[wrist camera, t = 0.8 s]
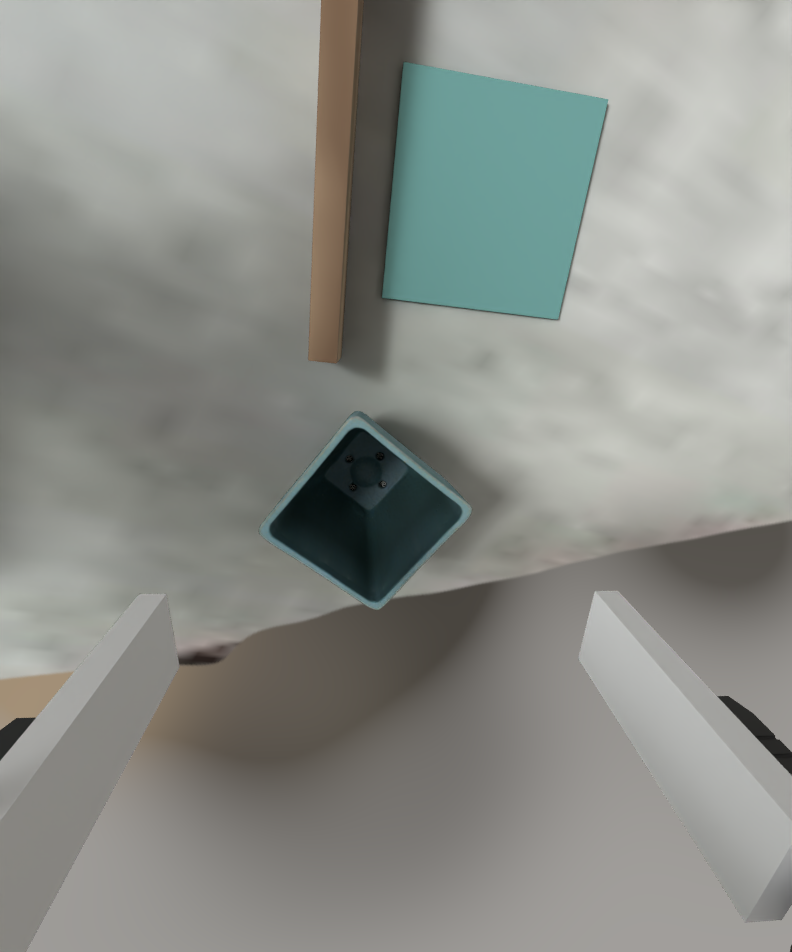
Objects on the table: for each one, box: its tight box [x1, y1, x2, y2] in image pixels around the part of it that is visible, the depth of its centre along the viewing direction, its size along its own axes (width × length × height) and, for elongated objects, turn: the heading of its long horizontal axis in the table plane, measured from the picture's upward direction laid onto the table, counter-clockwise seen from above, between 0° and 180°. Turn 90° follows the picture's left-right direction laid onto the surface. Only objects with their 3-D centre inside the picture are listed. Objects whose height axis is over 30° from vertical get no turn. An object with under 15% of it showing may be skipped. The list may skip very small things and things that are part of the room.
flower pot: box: [259, 411, 472, 610], centre depth 27 cm, size 9×9×9 cm
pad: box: [382, 62, 608, 319], centre depth 26 cm, size 12×12×1 cm
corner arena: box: [308, 0, 364, 363], centre depth 23 cm, size 20×24×5 cm
